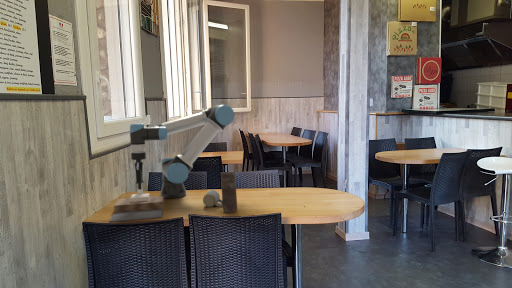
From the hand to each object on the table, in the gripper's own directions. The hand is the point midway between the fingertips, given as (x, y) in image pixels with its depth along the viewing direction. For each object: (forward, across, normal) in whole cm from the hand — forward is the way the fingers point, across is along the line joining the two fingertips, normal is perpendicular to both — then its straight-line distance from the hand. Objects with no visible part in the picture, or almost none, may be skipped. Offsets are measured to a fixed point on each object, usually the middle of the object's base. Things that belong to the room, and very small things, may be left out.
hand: (140, 194), depth 198 cm
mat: (+6, +22, +1) cm, 22 cm away
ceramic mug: (+6, +13, +39) cm, 42 cm away
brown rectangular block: (+5, +27, +46) cm, 53 cm away
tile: (+2, +5, 0) cm, 5 cm away
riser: (+6, +7, 0) cm, 9 cm away
